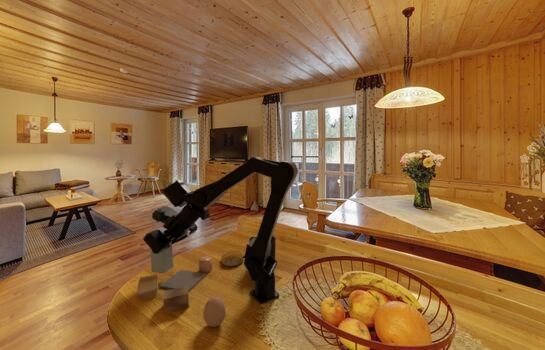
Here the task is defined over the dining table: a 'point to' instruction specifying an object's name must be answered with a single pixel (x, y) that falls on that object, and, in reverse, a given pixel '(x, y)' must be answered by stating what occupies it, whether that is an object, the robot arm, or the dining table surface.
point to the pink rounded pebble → (205, 264)
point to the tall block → (162, 258)
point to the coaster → (183, 280)
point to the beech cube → (147, 287)
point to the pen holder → (273, 242)
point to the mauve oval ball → (214, 312)
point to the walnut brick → (175, 299)
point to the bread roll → (232, 257)
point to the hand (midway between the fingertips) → (158, 249)
